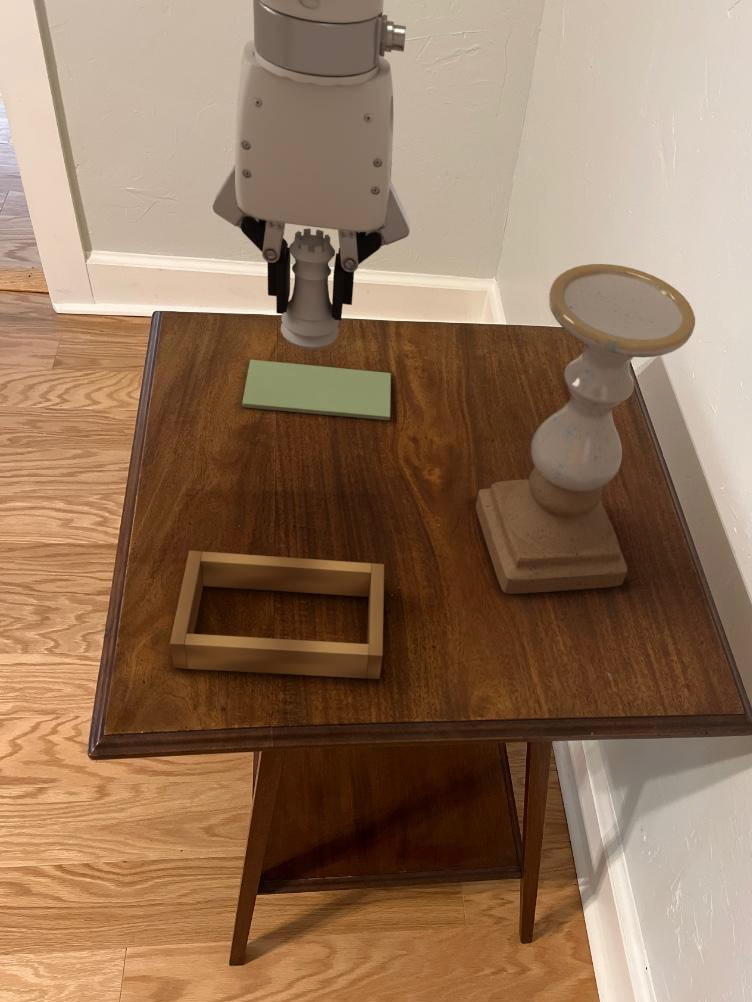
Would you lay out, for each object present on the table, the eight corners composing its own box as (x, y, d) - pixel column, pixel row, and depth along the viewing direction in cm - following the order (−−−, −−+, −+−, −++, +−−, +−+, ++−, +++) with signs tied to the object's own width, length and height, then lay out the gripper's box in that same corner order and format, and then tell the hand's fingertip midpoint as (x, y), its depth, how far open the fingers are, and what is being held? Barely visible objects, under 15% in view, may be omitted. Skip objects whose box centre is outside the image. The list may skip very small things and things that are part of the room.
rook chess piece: (277, 318, 71) (277, 220, 65) (334, 318, 72) (339, 222, 66) (283, 353, 68) (283, 254, 62) (343, 352, 69) (348, 254, 63)
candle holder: (624, 586, 78) (727, 349, 60) (502, 595, 75) (571, 350, 57) (586, 497, 85) (668, 260, 67) (473, 502, 82) (526, 257, 64)
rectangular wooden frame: (173, 668, 66) (169, 643, 64) (191, 576, 72) (189, 550, 70) (379, 679, 68) (382, 655, 66) (381, 588, 74) (384, 563, 72)
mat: (242, 407, 86) (242, 403, 86) (250, 363, 90) (250, 359, 90) (389, 420, 88) (390, 416, 87) (390, 376, 92) (391, 372, 92)
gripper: (453, 33, 58) (420, 292, 72) (187, -7, 56) (205, 267, 70) (455, 80, 53) (419, 348, 67) (164, 37, 51) (189, 323, 65)
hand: (310, 304), depth 68 cm, fingers closed on rook chess piece, 3 cm apart
